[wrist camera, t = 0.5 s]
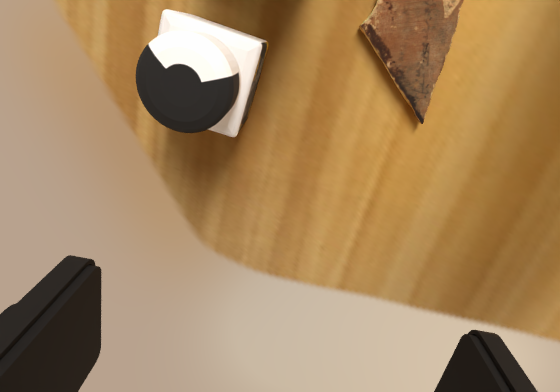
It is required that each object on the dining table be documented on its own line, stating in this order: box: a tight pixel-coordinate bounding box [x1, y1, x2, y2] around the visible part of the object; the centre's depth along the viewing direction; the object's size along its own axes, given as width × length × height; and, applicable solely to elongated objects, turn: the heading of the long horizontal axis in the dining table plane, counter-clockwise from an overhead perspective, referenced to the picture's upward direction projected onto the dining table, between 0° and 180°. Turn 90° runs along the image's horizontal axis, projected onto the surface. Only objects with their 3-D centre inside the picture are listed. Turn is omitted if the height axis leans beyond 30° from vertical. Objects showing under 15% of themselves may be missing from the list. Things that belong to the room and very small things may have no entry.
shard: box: [359, 0, 463, 124], centre depth 32 cm, size 11×8×2 cm
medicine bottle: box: [136, 9, 269, 137], centre depth 28 cm, size 7×7×12 cm
